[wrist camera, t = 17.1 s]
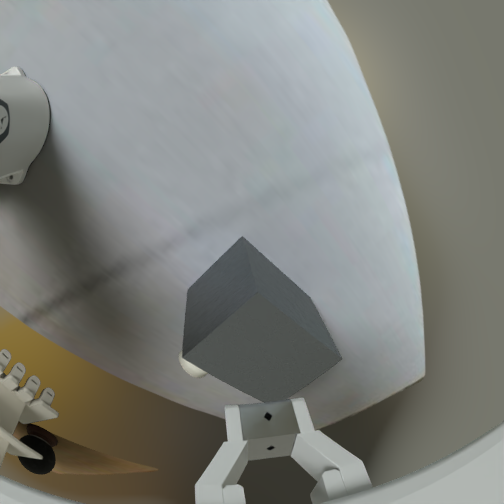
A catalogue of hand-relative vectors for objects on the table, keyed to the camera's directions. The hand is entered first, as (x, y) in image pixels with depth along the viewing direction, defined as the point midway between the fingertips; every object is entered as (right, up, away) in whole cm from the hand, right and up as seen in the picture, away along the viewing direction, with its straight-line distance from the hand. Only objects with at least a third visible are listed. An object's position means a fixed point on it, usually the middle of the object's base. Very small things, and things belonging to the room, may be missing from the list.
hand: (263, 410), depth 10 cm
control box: (-1, -1, +37) cm, 37 cm away
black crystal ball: (-66, -51, +51) cm, 97 cm away
